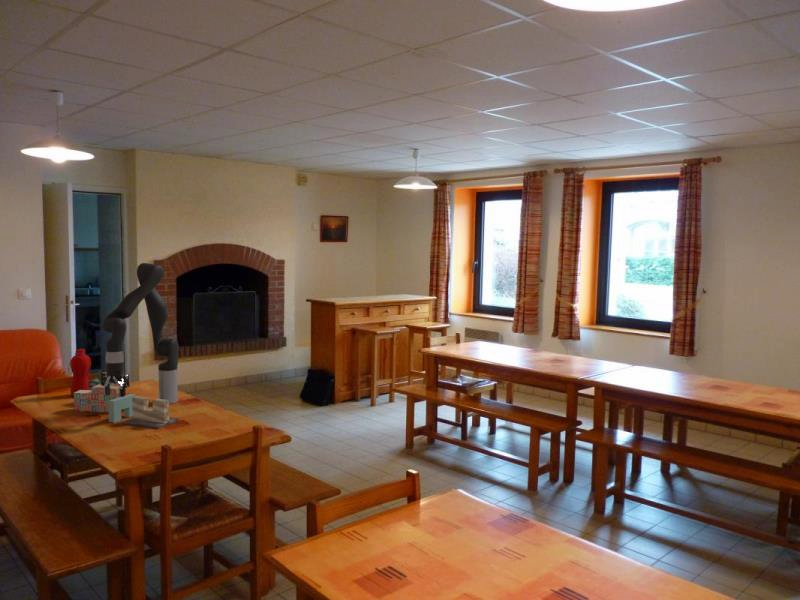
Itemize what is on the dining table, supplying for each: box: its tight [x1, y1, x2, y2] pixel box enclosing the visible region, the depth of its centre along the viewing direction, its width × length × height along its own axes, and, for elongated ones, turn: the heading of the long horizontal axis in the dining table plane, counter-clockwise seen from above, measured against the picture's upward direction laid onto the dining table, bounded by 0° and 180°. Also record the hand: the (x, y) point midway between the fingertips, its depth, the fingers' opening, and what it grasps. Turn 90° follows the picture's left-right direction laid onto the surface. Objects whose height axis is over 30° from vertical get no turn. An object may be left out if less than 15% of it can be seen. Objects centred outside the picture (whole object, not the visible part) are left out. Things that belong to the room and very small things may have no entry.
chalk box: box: [88, 372, 115, 390], centre depth 320 cm, size 9×9×15 cm
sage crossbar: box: [108, 393, 137, 424], centre depth 290 cm, size 14×3×10 cm, turn 161°
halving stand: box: [121, 395, 180, 430], centre depth 285 cm, size 14×20×11 cm
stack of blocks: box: [73, 384, 121, 413], centre depth 303 cm, size 21×6×12 cm, turn 87°
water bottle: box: [67, 348, 92, 397], centre depth 331 cm, size 9×11×25 cm
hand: (115, 395), depth 285 cm, fingers open, 8 cm apart
